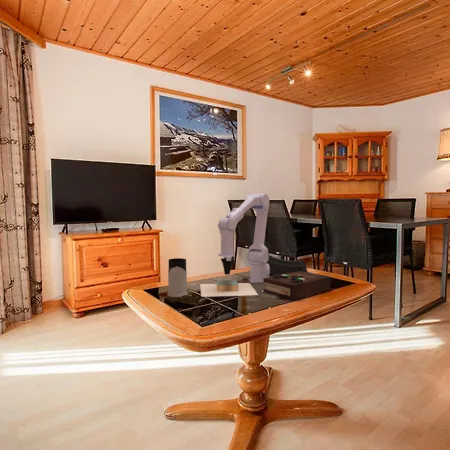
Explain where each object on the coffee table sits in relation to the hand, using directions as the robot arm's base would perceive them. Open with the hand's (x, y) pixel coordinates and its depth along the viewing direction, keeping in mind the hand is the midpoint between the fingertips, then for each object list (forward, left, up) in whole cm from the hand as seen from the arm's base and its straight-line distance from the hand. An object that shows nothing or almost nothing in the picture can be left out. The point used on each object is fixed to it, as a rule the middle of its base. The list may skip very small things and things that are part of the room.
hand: (227, 274), depth 150 cm
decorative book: (-30, +6, -8) cm, 32 cm away
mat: (0, +1, -7) cm, 7 cm away
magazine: (-33, -26, -7) cm, 43 cm away
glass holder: (+22, +3, -7) cm, 23 cm away
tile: (0, -4, -5) cm, 6 cm away
